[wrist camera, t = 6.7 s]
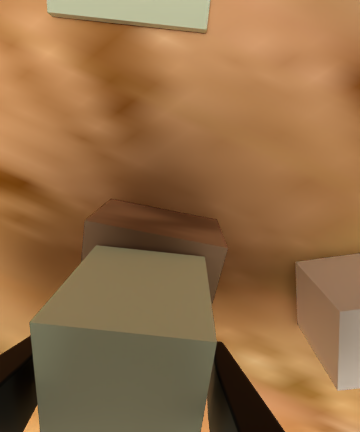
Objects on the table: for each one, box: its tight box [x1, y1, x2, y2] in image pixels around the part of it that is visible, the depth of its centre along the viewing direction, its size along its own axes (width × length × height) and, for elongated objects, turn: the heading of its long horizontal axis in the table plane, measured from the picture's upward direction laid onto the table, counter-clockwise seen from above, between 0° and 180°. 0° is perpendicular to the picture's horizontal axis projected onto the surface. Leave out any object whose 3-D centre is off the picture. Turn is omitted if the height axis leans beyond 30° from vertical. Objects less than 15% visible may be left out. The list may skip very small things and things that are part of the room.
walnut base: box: [81, 199, 228, 304], centre depth 13 cm, size 6×6×4 cm
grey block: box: [295, 253, 360, 390], centre depth 13 cm, size 4×4×4 cm
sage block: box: [29, 245, 217, 432], centre depth 9 cm, size 4×4×4 cm
